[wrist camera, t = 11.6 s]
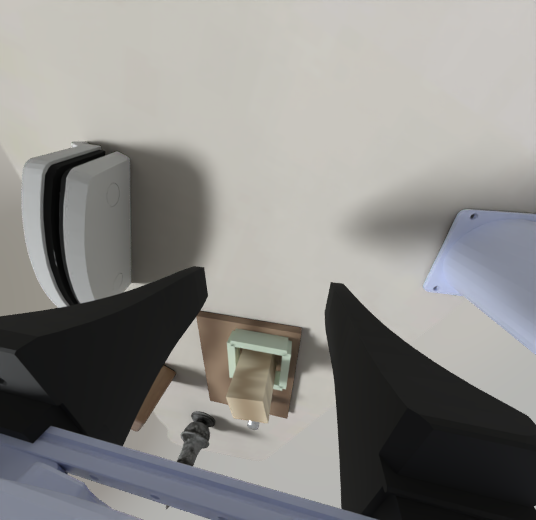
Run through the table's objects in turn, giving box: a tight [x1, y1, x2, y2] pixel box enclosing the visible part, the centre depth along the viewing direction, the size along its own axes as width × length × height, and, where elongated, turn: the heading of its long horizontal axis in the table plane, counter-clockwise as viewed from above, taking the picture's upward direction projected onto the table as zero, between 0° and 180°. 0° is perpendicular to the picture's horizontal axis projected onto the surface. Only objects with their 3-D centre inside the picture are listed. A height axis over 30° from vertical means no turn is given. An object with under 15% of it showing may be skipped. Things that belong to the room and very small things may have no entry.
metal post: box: [247, 421, 259, 430], centre depth 29 cm, size 4×4×4 cm
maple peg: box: [226, 348, 277, 423], centre depth 23 cm, size 4×4×7 cm
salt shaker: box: [166, 412, 215, 509], centre depth 35 cm, size 6×6×12 cm
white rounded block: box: [21, 142, 131, 308], centre depth 19 cm, size 17×5×10 cm, turn 161°
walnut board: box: [196, 311, 301, 418], centre depth 29 cm, size 14×20×1 cm
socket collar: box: [227, 328, 292, 391], centre depth 26 cm, size 8×8×2 cm
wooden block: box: [131, 365, 176, 431], centre depth 31 cm, size 4×4×8 cm
